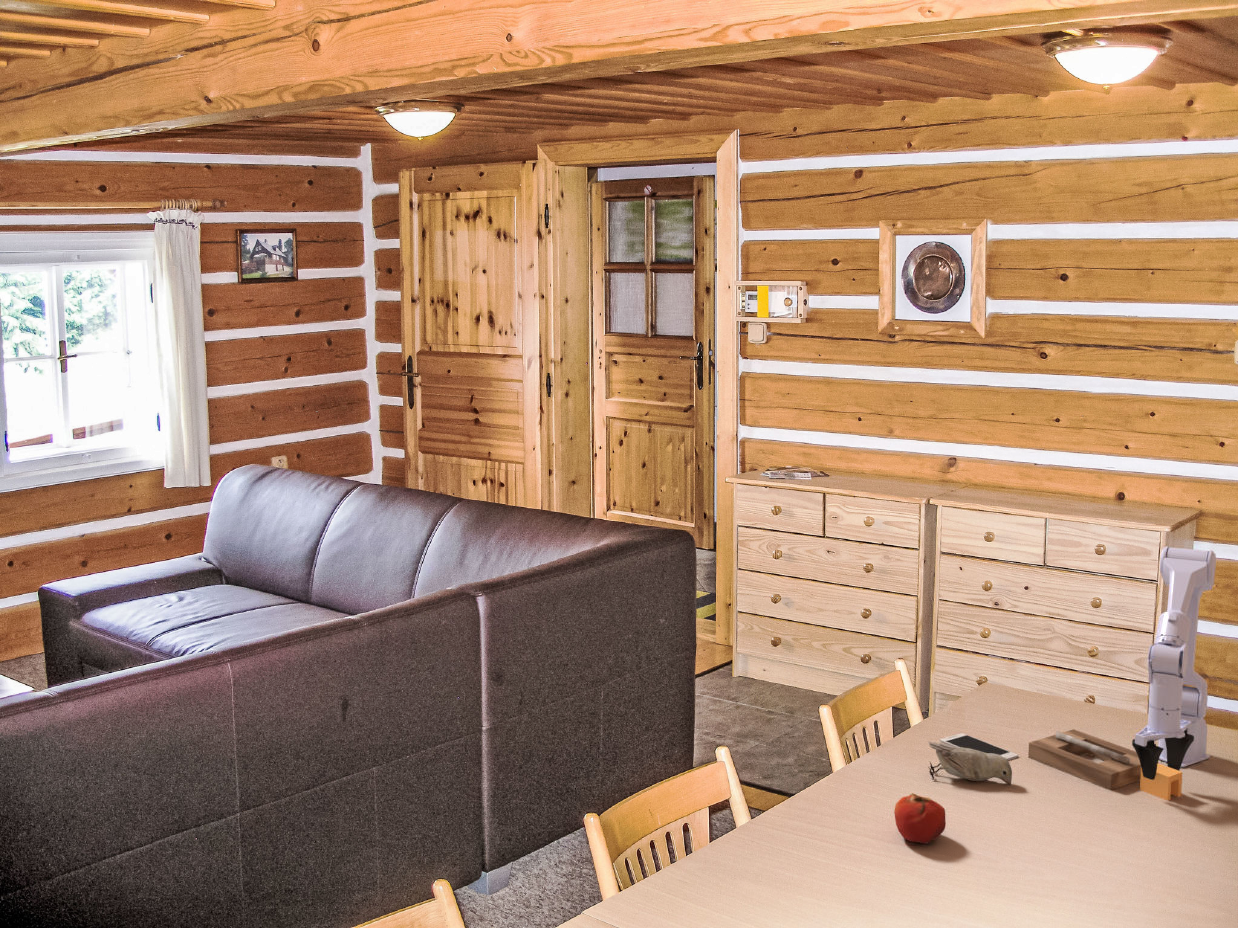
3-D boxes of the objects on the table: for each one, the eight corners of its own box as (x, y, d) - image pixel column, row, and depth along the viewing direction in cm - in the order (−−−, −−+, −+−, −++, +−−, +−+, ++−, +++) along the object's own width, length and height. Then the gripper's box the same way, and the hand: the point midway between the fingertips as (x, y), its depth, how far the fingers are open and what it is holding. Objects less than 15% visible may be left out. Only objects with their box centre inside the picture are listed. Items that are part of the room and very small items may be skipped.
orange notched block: (1153, 785, 246) (1154, 761, 245) (1181, 795, 241) (1182, 771, 240) (1139, 789, 244) (1141, 766, 243) (1167, 800, 239) (1168, 776, 238)
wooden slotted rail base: (1073, 743, 268) (1074, 722, 267) (1155, 774, 251) (1156, 752, 250) (1028, 757, 261) (1029, 736, 260) (1110, 789, 244) (1111, 767, 243)
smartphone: (995, 765, 257) (995, 761, 257) (939, 743, 270) (939, 738, 270) (1018, 758, 261) (1018, 754, 261) (962, 736, 274) (962, 732, 274)
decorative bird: (1011, 790, 245) (1012, 754, 244) (926, 782, 250) (927, 746, 248) (1011, 780, 250) (1012, 744, 249) (928, 772, 255) (929, 736, 254)
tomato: (911, 822, 231) (912, 781, 230) (955, 838, 224) (956, 795, 223) (882, 839, 224) (883, 796, 223) (927, 855, 218) (928, 811, 217)
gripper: (1159, 719, 233) (1155, 788, 235) (1207, 704, 240) (1203, 772, 242) (1126, 708, 239) (1123, 776, 241) (1174, 694, 246) (1170, 760, 248)
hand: (1161, 773), depth 242 cm, fingers open, 7 cm apart
